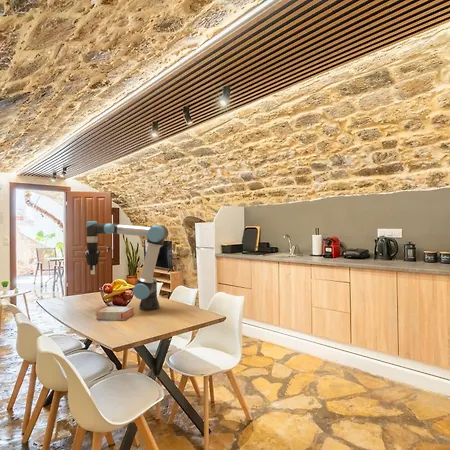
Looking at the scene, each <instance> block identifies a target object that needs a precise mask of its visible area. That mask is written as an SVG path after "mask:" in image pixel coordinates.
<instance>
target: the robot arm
mask: <svg viewBox="0 0 450 450" xmlns="http://www.w3.org/2000/svg"><path fill="white" fill-rule="evenodd" d="M85 227H86V228H85V229H86V231H85V232H86V248H87V249H86V251H85V252H84V256H85V259H86V264H87V266H89V269H90V275H96V267H97V265H98V264H99V258H100V254H101V251H100V250H98V247H99V243H98V242H99V241H98V235H105V234H106V235H110V234H111V235H113V234H114V235H115V234H116V235H125V236H137V237H145V238H146V237H147V239H146V243H147V247H146V253H145V257H144V261H143V264H142V265H143V266H142V269H141V272H140V273H141V274H140V275H139V277H138V278H137V279H136V285H134V287H133V289H132V294H133V296H134V297H135V298H136V299H137V300H140V303H139V305H138V306H139V307H138V309H139V310H140V311H145V312H146V311H147V312H149V311H154V310H159V309H160V302H159V299H158V291H157V289H158V286H157V285H158V282H157V278H156V277H154V273H155V270H156V265H157V261H158V257H159V253H160V249H161V248H162V247H163V246H164V241H165V240H167V238H168V236H169V230H168V228H167V227H166V226H164V225H157V224H154V225H151V226H145V225H143V226H142V225H132V224H121V223H120V224H119V223H109V222H108V223H98V221H96V220H91V221H90V220H89V221H86V226H85ZM153 277H154V278H153Z"/></svg>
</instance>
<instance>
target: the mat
mask: <svg viewBox="0 0 450 450" xmlns="http://www.w3.org/2000/svg"><path fill="white" fill-rule="evenodd" d="M131 317H132V316H130V318H131ZM127 320H129V318H127V319H125V320H100V319H97V322H126V321H127Z"/></svg>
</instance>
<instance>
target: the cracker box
mask: <svg viewBox="0 0 450 450" xmlns="http://www.w3.org/2000/svg"><path fill="white" fill-rule="evenodd" d="M95 313H96V314H95V317H96V320H125V319H127V318H128V319H130V318H131V317H132V316H134V315H135V311H134V306H110V305H109V306H105V307H103V308H100V309H98V310H96V312H95ZM130 316H131V317H130ZM129 317H130V318H129ZM128 319H127V320H128Z"/></svg>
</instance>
